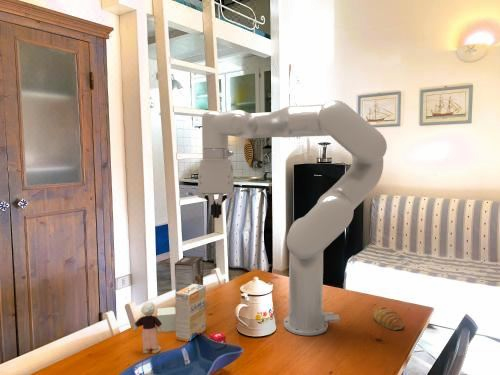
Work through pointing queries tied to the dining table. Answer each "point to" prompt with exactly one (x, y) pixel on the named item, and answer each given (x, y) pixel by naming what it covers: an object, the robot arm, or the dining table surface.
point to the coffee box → (188, 272)
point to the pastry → (388, 318)
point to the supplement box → (190, 311)
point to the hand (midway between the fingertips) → (216, 217)
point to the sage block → (167, 318)
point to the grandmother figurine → (149, 328)
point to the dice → (218, 337)
